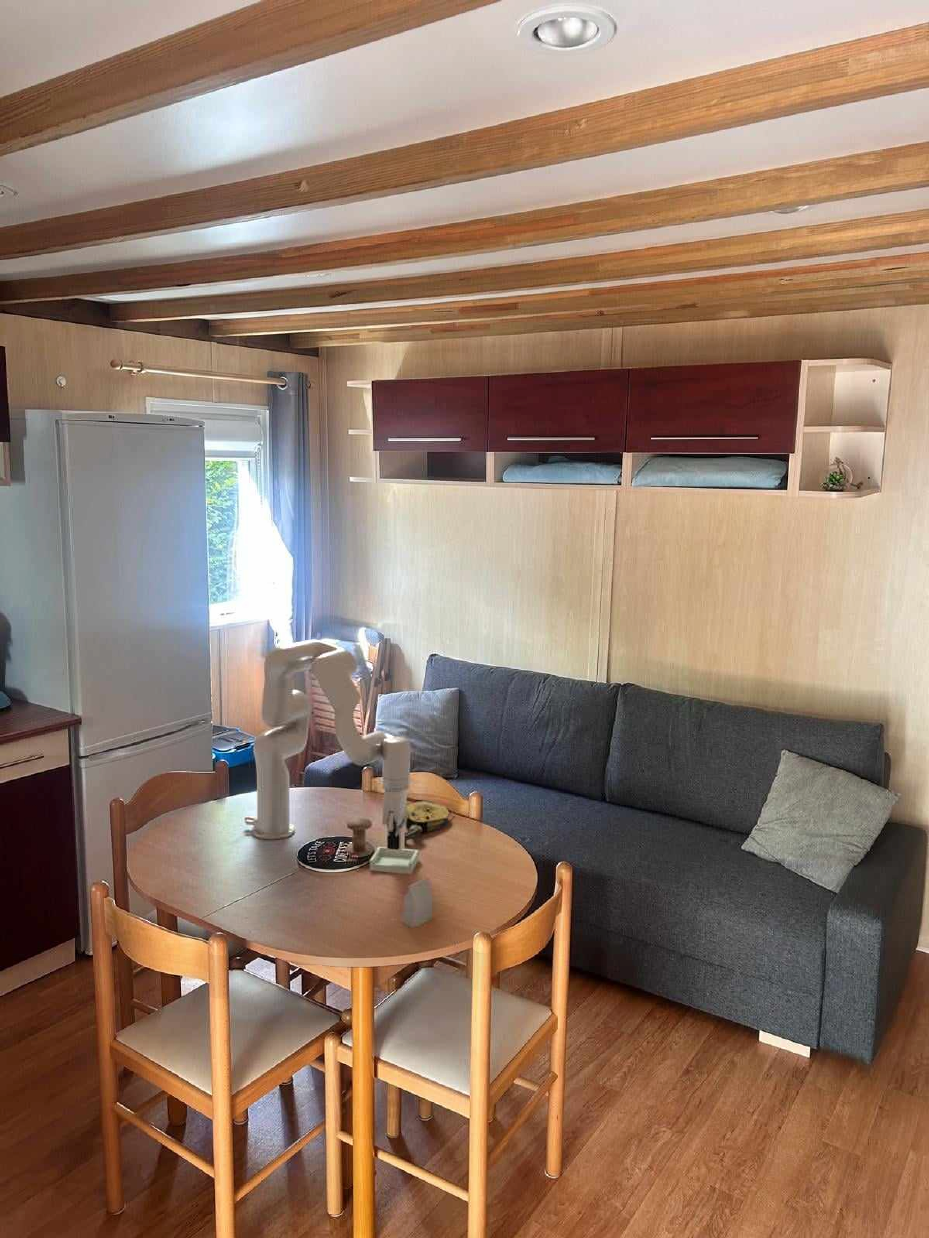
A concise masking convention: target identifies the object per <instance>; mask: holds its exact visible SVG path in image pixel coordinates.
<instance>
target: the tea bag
mask: <svg viewBox="0 0 929 1238" xmlns="http://www.w3.org/2000/svg"><path fill="white" fill-rule="evenodd" d="M433 907H434V894H433V891H432V888H431V884H430V881H429V878H428V877H425V878H423V879H421V880H417V882H416V881H415V882H413V883H412V884H410V885H408V886H407V891H406V892H405V895H404V898H403V900H402V923H403V924H404V925H407V926H410V927H412V928H415V927H418V926H420V925H421V924H424V923H426V922H427V921H429V920H432V919H433V916H434V915H433V912H434V909H433Z"/></svg>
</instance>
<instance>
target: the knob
mask: <svg viewBox="0 0 929 1238" xmlns="http://www.w3.org/2000/svg"><path fill="white" fill-rule="evenodd" d="M372 825H373V823H372V820H371V819H368V818H364V817H354V818H351V819H349V820H347V822H346V827H347V828H348V829H349V830H352V844H349V845H347V846H346V847H345V848H344V853H345V852H347V853H348V854H349V855H357V856H363V855H369V854H371V853H372V852H373V853H374V848H373V846H371V845H369V844H366V832H367V831H366V830H369V829H370V828H371V827H372Z"/></svg>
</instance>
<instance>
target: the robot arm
mask: <svg viewBox="0 0 929 1238" xmlns="http://www.w3.org/2000/svg"><path fill="white" fill-rule="evenodd" d="M263 665H264V666H263V670H264V672H263V673H264V675H263V676H264V680H263V691H262V702H261V719H262V722H263V724H264V725H265V726H267V727H269V728H271V729H268V730H266V731H263V732H261V733H260V734H258V736H256V738H255V740H254V742H253V747H252V748H253V749H252V751H253V756H254V759H255V766H256V801H257V802H256V803H257V805H256V807H257V808H256V809H257V812H256V815H255V816H252V815H245V816H244V822H245V825H248V826H253V827H252V829H251V833H252V835H253V836H254V837H255V838H258V839H263V840H281V839H285V838H288V837H290V836H292V835H293V834H294V833H295V830H296V828H295V827H296V826H294V824H293V823H292V822H290V772H289V769H288V767H287V765H286V763H285V759H287V758H291V757H293V756H296V755H298V754H300V753H301V752H302V751H304V749H305V747H306V745H307V742H308V738H309V737H308V736H309V730H310V729H309V727H310V718H311V703H310V701H309V698H308V697H307V695H306V694H305V693H304V692H303V691H302V690H297V689H294V685H295V684H294V679H293V678H294V677H293V676H292V674H294V673H295V674H297V673H300V672H305V671H308V670H311V673H312V674H313V677H314V678H315V680H316V682H317V684H318V685H319V687H320V688H321V691H322V692H323V694H324V695H325V697H326V698H327V700H328V702H329V704H330V705H331V707H332V709H333V711H334V721H333V722H334V732H335V735H336V739H337V741H338V743H339V746H340V747H341V748H342V750H343V752H344V753H345V755H346V757H347V758H348V759H349V760H350V761H351V762H352V763H353V764H355V765H358V766H365V765H368V764H371V763H373V762H374V761H378V760H382V772H381V773H382V785H381V788H382V789H383V790H384V793H383V799H382V802H383V803H382V816H381V817H382V819H381V820H382V821H381V823H382V825H383V826H386V825H387V823H388V849H397V850H398V849H399V835H398V830H399V825H400V824H401V822H402V821H403V819H405V816H406V808H407V806H408V805H407V803H408V802H407V799H408V797H407V795H408V794H407V792H408V791H407V790H409V789H410V785H411V784H410V782H411V781H410V780H411V779H410V778H411V774H410V773H411V743H410V740H409V739H408V738H407V737H404V736H398V735H396V736H395V735H392V734H390V733H388V732H386V731H382V730H381V731H380V730H377V731H373V732H370V733H367V734H365V735H361V733H360V731H359V730H358V727H357V726H356V722H355V717H354V715H355V710H356V707H357V706H358V705H359V703H360V702H361V699H362V696H361V693H360V691H359V690H358V689H357V686H356V684H355V683H354V682H353V680H352V678H351V677H352V676H353V675H355V673H356V671H357V669H358V668H357V667H358V663H357V659H356V658H355V657H354V654H353V653H352V652H351V651H349V650H347V649H345V648H344V647H340V646H338V645H334V644H332V643H328V642H325V641H322V640H319V639H307V640H303V641H297V642H293V643H289V644H288V643H287V644H284V645H280V646H277V647H275V648H273V649H271V650H270V651H269V652H268V653H267V654H266V656H265V658H264V663H263ZM394 822H397V823H396V824H394ZM393 827H396V830H395V828H393Z"/></svg>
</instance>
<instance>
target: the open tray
mask: <svg viewBox="0 0 929 1238" xmlns="http://www.w3.org/2000/svg"><path fill="white" fill-rule="evenodd" d="M419 852H420V851H419V850H418V849H410V848H403V850H402V852H401V853H400V852H388V851H387V846H378V847H377V848H376V850H375V852H373V854H372V855H371V857H370V859H369V871H374V872H383V873H384V872H385V873H394V874H406V875H412V874H413V872H414V869H415V868H416V866H417V864H418V862H419Z"/></svg>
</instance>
